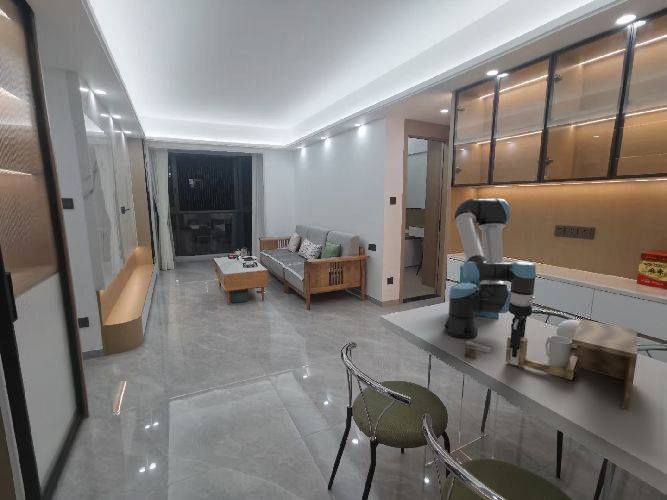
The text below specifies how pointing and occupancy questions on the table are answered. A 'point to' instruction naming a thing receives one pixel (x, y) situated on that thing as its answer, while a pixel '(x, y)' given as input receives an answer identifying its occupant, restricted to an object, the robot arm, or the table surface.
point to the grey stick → (479, 347)
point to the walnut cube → (470, 351)
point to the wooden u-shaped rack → (523, 361)
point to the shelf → (607, 352)
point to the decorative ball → (568, 329)
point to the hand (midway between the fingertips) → (515, 361)
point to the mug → (558, 351)
